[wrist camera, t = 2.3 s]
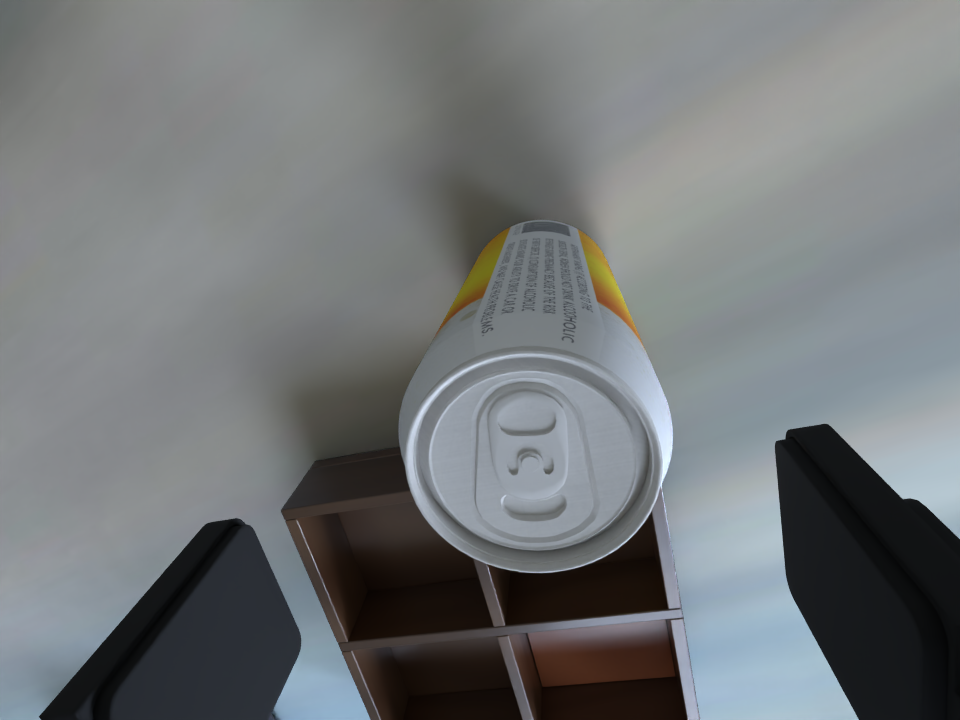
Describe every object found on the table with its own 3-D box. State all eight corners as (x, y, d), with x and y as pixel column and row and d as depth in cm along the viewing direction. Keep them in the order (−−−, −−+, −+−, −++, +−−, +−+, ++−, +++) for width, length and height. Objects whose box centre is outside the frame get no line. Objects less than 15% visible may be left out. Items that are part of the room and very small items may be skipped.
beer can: (480, 354, 27) (408, 588, 14) (465, 223, 25) (362, 340, 11) (612, 347, 26) (680, 588, 13) (609, 210, 24) (687, 320, 10)
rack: (314, 460, 31) (279, 510, 27) (640, 405, 27) (656, 452, 23) (405, 691, 36) (388, 761, 32) (685, 668, 33) (703, 742, 29)
